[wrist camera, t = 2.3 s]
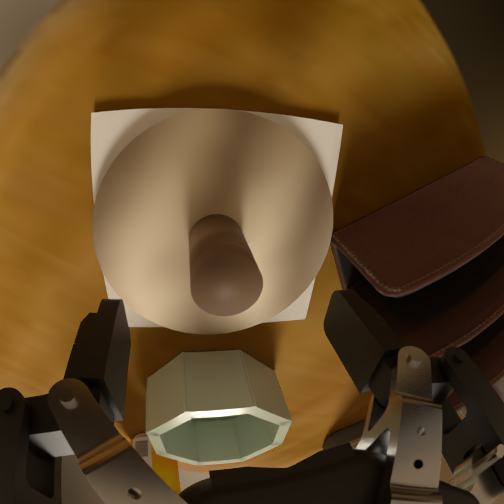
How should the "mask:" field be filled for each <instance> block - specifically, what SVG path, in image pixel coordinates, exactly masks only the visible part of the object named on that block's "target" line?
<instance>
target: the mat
mask: <svg viewBox="0 0 504 504" xmlns="http://www.w3.org/2000/svg"><path fill="white" fill-rule="evenodd" d="M203 109H208V108H148V109H129V110H115V111H104V112H95V113H91V167H92V186H93V199H94V204H95V200H96V195H97V192H98V190H99V187H100V185H101V182H102V180H103V178H104V176H105V174H106V172H107V170H108V169H109V167H110V165H111V164H112V162H113V161H114V160H115V158H116V157H117V156H118V155H119V153H120V152H121V151H122V150H123V149H124V148H125V147H126V146H127V145H128V144H129V143H130V142H131V141H132V140H133V139H134V138H135V137H137V136H138V135H140V134H141V133H142V132H144V131H145V130H147V129H148V128H150V127H151V126H153V125H155V124H157V123H159V122H161V121H163V120H165V119H167V118H170V117H173V116H176V115H179V114H182V113H185V112H190V111H196V110H203ZM238 111H242V110H238ZM244 112H248V113H251V114H255V115H258V116H261V117H263V118H266V119H268V120H270V121H272V122H274V123H276V124H278V125H280V126H281V127H283V128H284V129H286V130H287V131H289V132H290V133H292V134H293V135H294V136H295V137H296V138H297V139H298V140H300V141H301V142H302V143H303V144H304V145H305V146H306V148H307V149H308V150H309V151H310V152H311V154H312V155H313V156H314V157H315V159H316V161H317V162H318V164H319V166H320V167H321V169H322V171H323V173H324V176H325V178H326V180H327V183H328V186H329V190H330V193H331V197H332V194H333V188H334V182H335V176H336V170H337V164H338V158H339V151H340V144H341V137H342V130H343V125H341V124H336V123H331V122H326V121H320V120H315V119H309V118H302V117H296V116H289V115H281V114H273V113H264V112H254V111H244ZM104 279H105V284H106V289H107V294H108V298H109V299H121V298H120V297H119V296H118V295H117V294H116V292H115V291H114V290H113V288H112V287H111V286H110V284H109V283H108V281H107V279H106V277H105V276H104ZM314 282H315V278H314V280H313V281H312V282H311V284H310V285H309V286H308V288H307V289H306V290H305V291H304V292H303V293H302V294H301V295H300V297H299V298H298V299H296V300H295V301H294V302H293V303H292V304H291V305H290V306H288V307H287V308H286V309H284V310H283V311H281V312H280V313H279V314H277V315H275V316H274V317H272V318H270V319H268V320H266V321H264V322H262V323H266V322H278V321H290V320H300V319H305V318H306V314H307V310H308V306H309V302H310V298H311V294H312V290H313V286H314ZM123 303H124V307H125V312H126V317H127V322H128V326H129V327H163V326H160V325H158V324H156V323H154V322H152V321H150V320H148V319H146V318H145V317H143V316H141V315H140V314H138V313H137V312H136V311H134V310H133V309H132V308H131V307H129V306H128V305H127V304H126V303H125V302H124V301H123Z"/></svg>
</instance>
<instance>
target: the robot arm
mask: <svg viewBox="0 0 504 504" xmlns="http://www.w3.org/2000/svg"><path fill="white" fill-rule="evenodd" d="M324 331H325V334H326V336H327V338H328V339H329V341H330V343H331V344H332V346H333V348H334V349H335V351H336V353H337V355H338V356H339V358H340V360H341V361H342V363H343V365H344V367H345V368H346V370H347V372H348V373H349V375H350V377H351V379H352V380H353V382H354V384H355V386H356V387H357V389H358V391H359V393H360V394H361V393H364V392H367V391H372V393H373V395H372V396H371V398H370V402H369V407H368V412H367V417H366V422H365V426H364V431H363V435H362V437H361V440H360V442H359V443H358V445H357V447H356V449H353V448H352V446H351V444H350V442H348V443H345V444H342V445H339V446H336V447H333V448H329V449H326V450H323V451H319V452H317V453H316V454H314V455H312V456H310V457H308V458H306V459H304V460H303V461H301V462H299V463H297V464H295V465H293V466H291V467H288V468H262V467H241V468H233V469H224V470H213V471H209V474H210V478H208V479H205V480H202V481H199V482H197V483H195V484H193V485H191V486H189V487H188V488H186V489H185V490H183V491H182V492H181V493H179V494H177V493H176V492H175V491H174V490H172V489H171V488H170V487H169V486H168V485H167V484H166V483H165V482H164V481H163V480H162V479H161V478H160V477H159V476H158V475H157V473H156V472H155V471H154V470H153V469H152V468H151V467H150V466H149V465H148V464H147V463H146V462H145V460H144V459H143V458H142V457H141V456H140V455H139V454H138V453H137V451H136V450H135V449H134V448H133V447H132V445H131V444H130V443H129V442H128V441H127V440H126V439H125V438H124V437H123V436H122V435H121V434H120V433H119V431H118V430H117V429H116V428H115V426H114V420H116V421H124V407H125V394H126V382H127V372H128V363H129V355H130V346H131V340H130V331H129V326H128V322H127V317H126V312H125V307H124V303H123V300H122V299H102V300H101V303H100V306H99V309H98V312H97V313H89V314H88V315H87V316H86V317H85V318H84V319H83V321H82V322H81V324H80V327H79V329H78V332H77V335H76V338H75V342H74V343H75V344H74V345H73V348H72V351H71V354H70V358H69V361H68V365H67V368H66V372H65V375H64V378H63V380H60V381H58V382H56V383H55V384H54V385H53V386H52V387H51V389H50V390H49V393H48V394H45V395H41V396H34V397H28V398H24V397H23V395H22V394H21V393H20V392H19V391H18V390H16V389H14V388H3V389H1V390H0V504H62V502H61V461H62V456H65V455H72V454H75V455H76V457H77V459H78V460H79V467H80V469H81V470H82V472H83V474H84V475H85V477H86V478H87V480H88V481H89V483H90V484H91V485H92V487H93V488H94V490H95V491H96V492H97V493H98V495H99V496H100V498H101V499H102V500H103V501H104V503H105V504H493V503H494V502H495V501H496V500H497V499H498V498H499V497H500V496H501V495H502V494H503V493H504V377H503V378H501V379H500V380H499V381H498V382H497V383H496V384H495V385H494V386H492V385H491V384H490V382H489V381H488V380H487V378H486V377H485V376H484V375H483V373H482V372H481V371H480V369H479V368H478V367H477V365H476V364H475V363H474V362H473V360H472V359H471V358H470V357H469V355H468V354H467V353H466V352H465V351H463V350H462V349H460V348H457V347H449V348H447V349H446V351H445V352H444V354H443V355H442V357H428V355H427V354H426V353H425V352H424V351H423V350H421V349H419V348H417V347H414V346H405V345H404V344H403V342H402V341H401V340H400V339H399V337H398V336H397V335H396V334H395V333H394V331H393V330H392V329H391V328H390V326H389V325H388V324H386V322H385V320H384V319H383V318H382V317H380V314H379V313H378V312H377V311H376V309H375V308H374V307H373V306H371V305H370V304H368V303H367V302H365V301H364V300H362V299H361V298H360V297H359V296H358V295H357V294H356V292H355V291H354V290H352V289H350V290H339V291H334V292H333V294H332V296H331V300H330V303H329V306H328V310H327V313H326V316H325V319H324ZM453 390H455V392H456V393H457V395H458V396H459V398H460V399H461V401H462V402H463V404H464V405H465V407H464V408H462V409H460V411H461V412H462V414H463V415H464V417H465V418H464V419H463V420H461V419H460V417H459V416H458V414H457V413H456V411H455V410H454V408H453V406H452V405H451V403H450V402H449V400H448V399H447V398H448V397H449V395H450V394H451V393H452V392H453ZM441 453H442V454H443V456H444V458H445V460H446V461H447V463H448V465H449V467H450V469H451V471H452V473H453V478H452V479H451V480H450V481H449V484H448V483H445V482H443V481H440V480H439V477H440V467H441Z"/></svg>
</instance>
